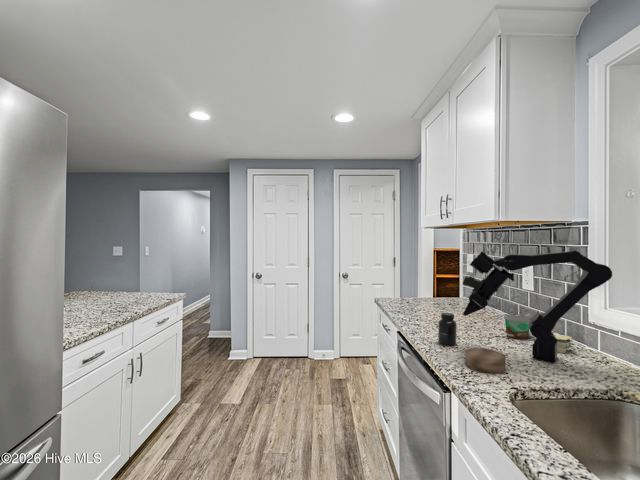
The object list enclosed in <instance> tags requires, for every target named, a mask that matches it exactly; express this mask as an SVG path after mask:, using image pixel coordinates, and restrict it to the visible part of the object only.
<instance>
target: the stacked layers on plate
mask: <svg viewBox="0 0 640 480" xmlns="http://www.w3.org/2000/svg"><path fill="white" fill-rule="evenodd" d="M554 335H555V337H556V339H557V354H566V352H567V350H569V349H572V348H573V346H572V343H573V340H571V339H572V338H573V336H569V335H562V334H554Z"/></svg>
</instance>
